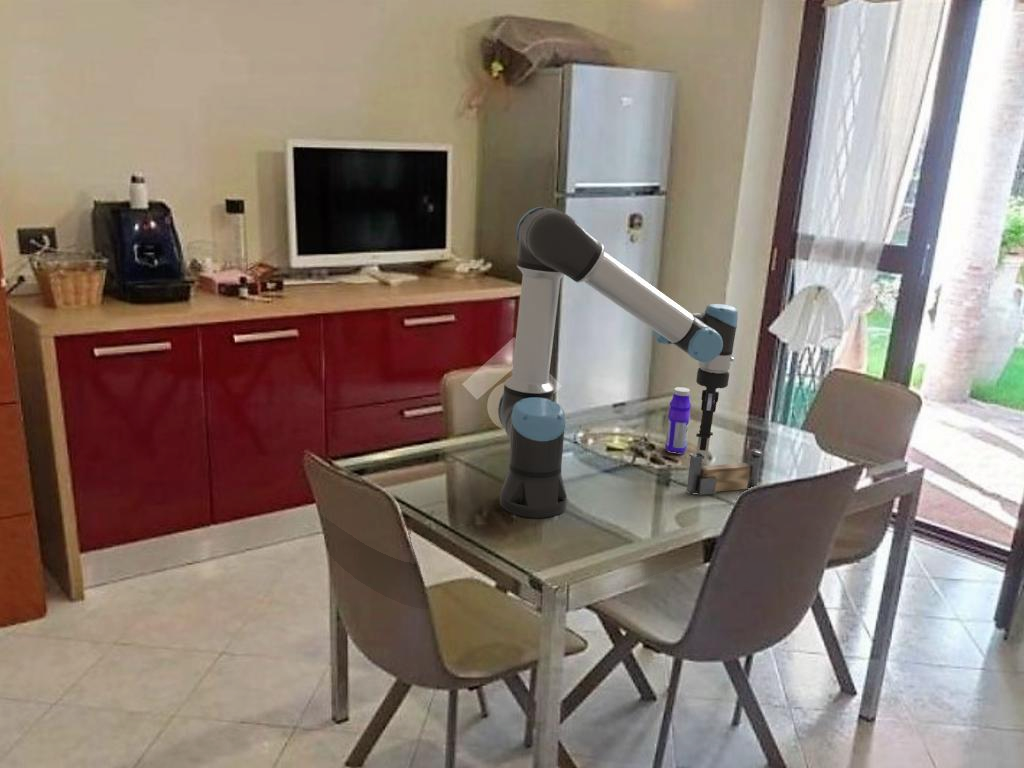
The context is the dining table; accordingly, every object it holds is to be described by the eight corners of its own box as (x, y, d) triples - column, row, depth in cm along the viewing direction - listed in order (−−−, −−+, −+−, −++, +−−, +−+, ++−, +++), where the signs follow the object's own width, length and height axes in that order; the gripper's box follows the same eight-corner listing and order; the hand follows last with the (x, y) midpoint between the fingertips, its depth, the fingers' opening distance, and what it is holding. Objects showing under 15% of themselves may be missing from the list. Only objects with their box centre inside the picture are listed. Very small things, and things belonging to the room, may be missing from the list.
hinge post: (749, 491, 215) (754, 454, 212) (742, 486, 218) (747, 449, 215) (760, 490, 216) (765, 453, 213) (753, 485, 219) (758, 448, 216)
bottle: (685, 456, 236) (693, 393, 231) (664, 454, 237) (670, 391, 232) (686, 447, 243) (693, 386, 238) (665, 445, 244) (671, 384, 239)
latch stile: (692, 497, 210) (697, 459, 207) (684, 490, 213) (689, 453, 211) (714, 495, 211) (719, 457, 209) (706, 489, 215) (711, 451, 212)
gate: (741, 485, 217) (744, 462, 216) (747, 488, 215) (750, 466, 214) (696, 489, 213) (698, 466, 212) (701, 493, 211) (703, 470, 209)
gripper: (729, 377, 207) (715, 472, 213) (729, 364, 219) (716, 454, 226) (697, 373, 208) (684, 467, 215) (699, 360, 221) (686, 450, 227)
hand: (700, 460), depth 220 cm, fingers closed
